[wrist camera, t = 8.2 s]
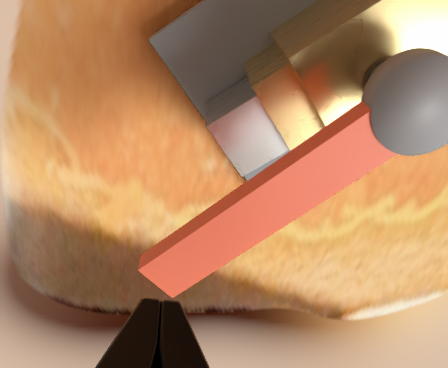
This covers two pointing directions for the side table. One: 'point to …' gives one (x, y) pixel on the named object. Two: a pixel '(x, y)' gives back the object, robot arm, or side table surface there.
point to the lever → (313, 169)
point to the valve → (316, 73)
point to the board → (220, 45)
